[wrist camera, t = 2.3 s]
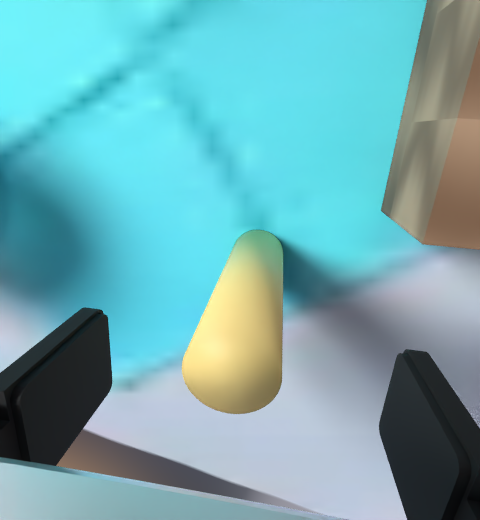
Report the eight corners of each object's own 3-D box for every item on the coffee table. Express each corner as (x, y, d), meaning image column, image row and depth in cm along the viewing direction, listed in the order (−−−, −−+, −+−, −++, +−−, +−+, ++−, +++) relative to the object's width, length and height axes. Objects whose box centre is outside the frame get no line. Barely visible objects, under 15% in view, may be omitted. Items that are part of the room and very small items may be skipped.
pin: (234, 227, 18) (182, 324, 9) (286, 232, 18) (287, 338, 9) (231, 274, 19) (181, 406, 10) (280, 279, 19) (276, 420, 10)
